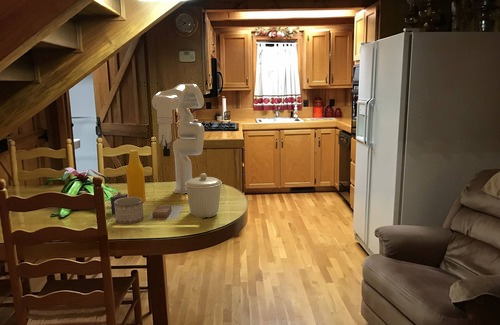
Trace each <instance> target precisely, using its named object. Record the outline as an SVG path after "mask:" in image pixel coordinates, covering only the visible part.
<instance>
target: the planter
mask: <svg viewBox="0 0 500 325" xmlns="http://www.w3.org/2000/svg"><path fill="white" fill-rule="evenodd" d="M143 203H144V202H143V200H142V198H139V197H125V198H120V199H117V200H116V201H115V202H114V204H115V223H117V224H120V225H132V224H137V223H140V222H142V221H143V220H144V216H145V215H144V204H143Z"/></svg>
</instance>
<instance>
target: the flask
mask: <svg viewBox="0 0 500 325" xmlns="http://www.w3.org/2000/svg"><path fill="white" fill-rule="evenodd" d="M125 197H128V193H123V194H122V192H121V191H118V193H117V194H115V195H114V194H113V195H111V196H110V197H109V198H110V206H111V215H115V204H114V202H115V201H116V200H117V199H120V198H125Z"/></svg>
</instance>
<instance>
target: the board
mask: <svg viewBox="0 0 500 325" xmlns="http://www.w3.org/2000/svg"><path fill="white" fill-rule="evenodd" d="M170 206H171V213H170V215H169V216H168V218H153V215H152V212H151V213H150V215H148V217H147V219H148V220H162V219H164V220H167V219H168V220H169V219H172V220H175V219H176V220H177V219H178V217H179V215H180V214H181V212H182V210H183V209H184V205H170Z"/></svg>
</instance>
